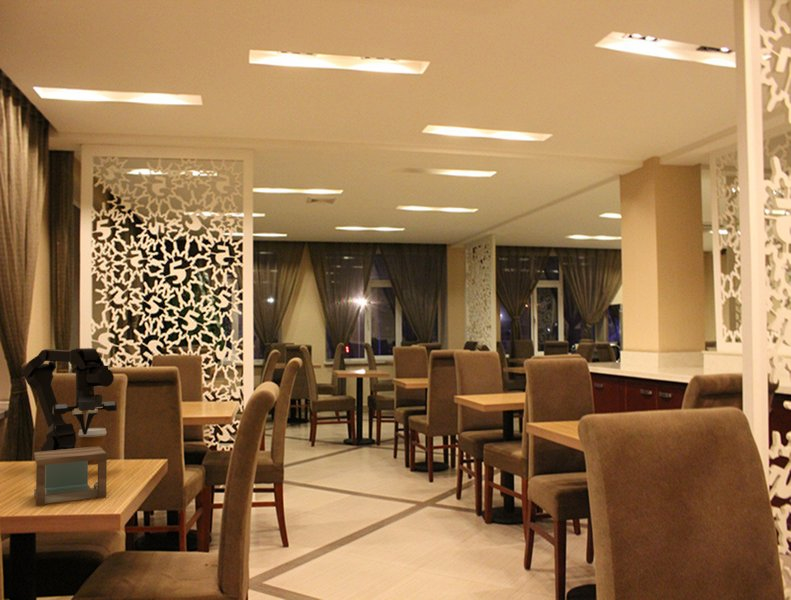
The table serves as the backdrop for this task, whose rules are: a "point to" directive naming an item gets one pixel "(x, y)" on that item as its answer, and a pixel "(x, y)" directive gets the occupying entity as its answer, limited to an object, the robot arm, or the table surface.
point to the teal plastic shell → (66, 477)
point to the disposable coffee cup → (93, 439)
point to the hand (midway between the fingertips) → (84, 434)
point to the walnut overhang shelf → (67, 457)
